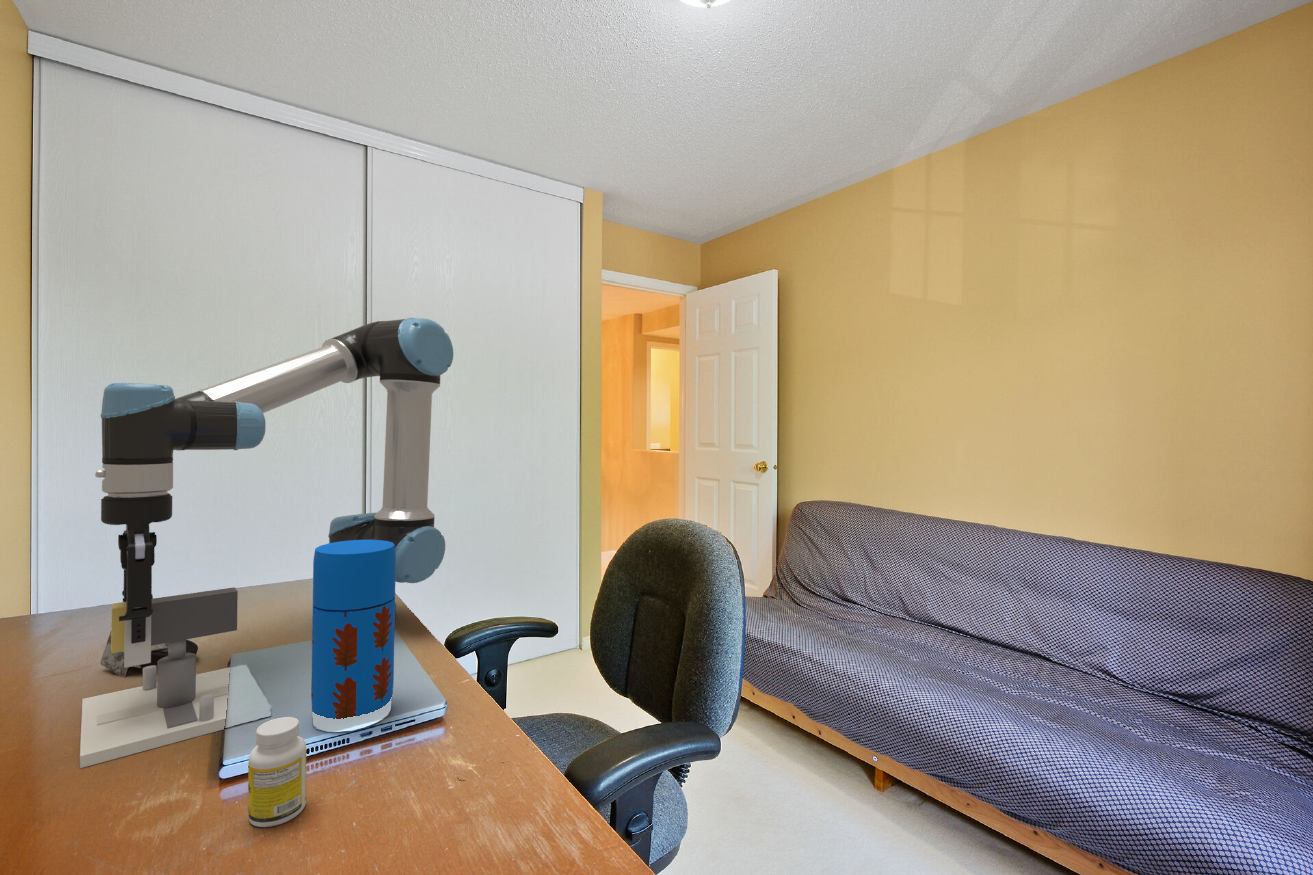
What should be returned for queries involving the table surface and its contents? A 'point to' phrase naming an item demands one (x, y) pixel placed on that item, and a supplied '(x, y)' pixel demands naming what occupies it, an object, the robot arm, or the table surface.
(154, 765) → the table surface
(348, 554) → the thermos
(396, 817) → the table surface
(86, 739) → the base plate
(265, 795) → the supplement bottle
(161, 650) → the caster wheel
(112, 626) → the grey yellow rectangular block
